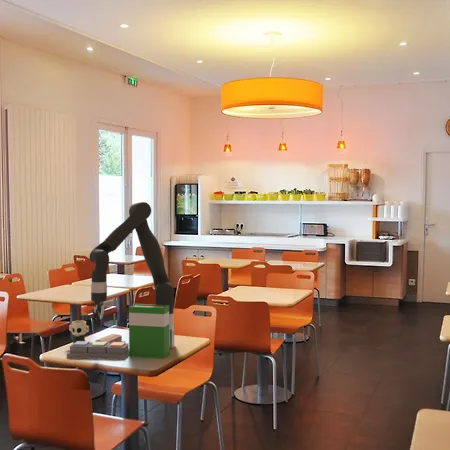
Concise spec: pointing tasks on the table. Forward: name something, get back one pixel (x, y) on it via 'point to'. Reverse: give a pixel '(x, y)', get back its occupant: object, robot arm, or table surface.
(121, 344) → the terracotta button
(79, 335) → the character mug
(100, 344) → the sage button
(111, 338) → the packaged product
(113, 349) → the button panel
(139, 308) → the green cereal box
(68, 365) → the table surface
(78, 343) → the slate button
